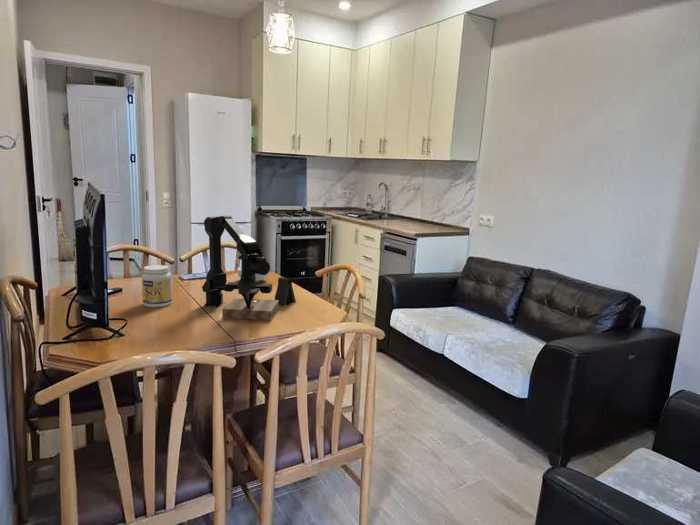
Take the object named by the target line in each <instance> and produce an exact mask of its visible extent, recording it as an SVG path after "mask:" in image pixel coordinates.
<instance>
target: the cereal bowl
mask: <svg viewBox="0 0 700 525" xmlns="http://www.w3.org/2000/svg"><path fill="white" fill-rule="evenodd" d="M268 275H269V272H268V273H267V274H266V275H260V274H256V283H258V282H259V281H260V282H261V281H263V280H265V279H266V278H267V277H268ZM237 276H238V277H239V279H241V266H239V267H238V268H237ZM260 282H259V283H260Z"/></svg>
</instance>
